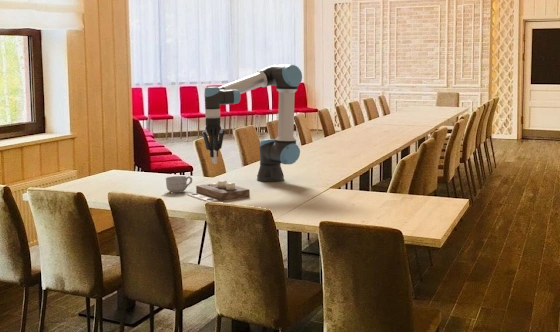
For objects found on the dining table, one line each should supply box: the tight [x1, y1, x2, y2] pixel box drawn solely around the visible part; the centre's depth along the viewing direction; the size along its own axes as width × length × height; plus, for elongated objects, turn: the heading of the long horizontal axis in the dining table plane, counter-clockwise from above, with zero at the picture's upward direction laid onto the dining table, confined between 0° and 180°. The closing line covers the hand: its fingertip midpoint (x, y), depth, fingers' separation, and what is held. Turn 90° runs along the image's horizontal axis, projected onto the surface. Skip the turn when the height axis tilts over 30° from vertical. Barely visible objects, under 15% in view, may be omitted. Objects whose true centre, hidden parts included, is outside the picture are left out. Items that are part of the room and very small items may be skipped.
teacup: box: [165, 175, 193, 194], centre depth 379 cm, size 14×11×8 cm
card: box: [187, 192, 219, 202], centre depth 362 cm, size 5×22×1 cm, turn 34°
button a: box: [209, 182, 218, 187], centre depth 375 cm, size 5×5×3 cm
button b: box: [217, 179, 228, 188], centre depth 368 cm, size 5×5×3 cm
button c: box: [226, 182, 236, 190], centre depth 361 cm, size 5×5×3 cm
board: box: [195, 183, 251, 202], centre depth 368 cm, size 16×26×4 cm, turn 34°
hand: (214, 163), depth 373 cm, fingers closed
